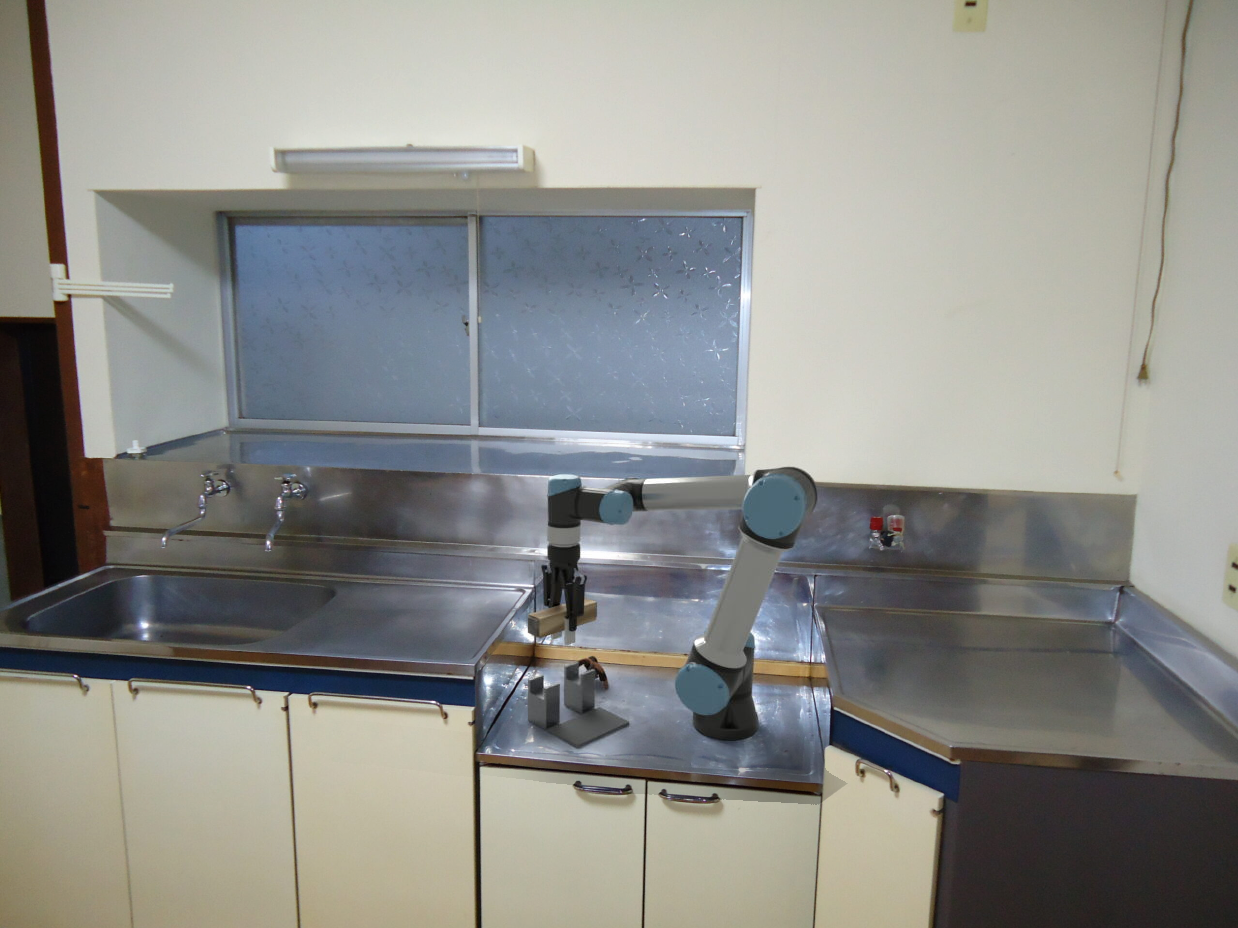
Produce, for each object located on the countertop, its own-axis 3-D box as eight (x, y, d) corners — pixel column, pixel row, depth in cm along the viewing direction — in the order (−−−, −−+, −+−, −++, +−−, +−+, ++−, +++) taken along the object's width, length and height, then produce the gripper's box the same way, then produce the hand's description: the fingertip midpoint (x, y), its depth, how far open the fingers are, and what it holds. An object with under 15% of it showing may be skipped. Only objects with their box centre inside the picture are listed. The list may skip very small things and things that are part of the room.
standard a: (594, 709, 194) (595, 669, 193) (582, 714, 192) (582, 674, 190) (576, 699, 199) (576, 661, 197) (563, 704, 196) (564, 665, 194)
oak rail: (597, 619, 192) (598, 601, 192) (537, 638, 180) (537, 619, 179) (586, 614, 195) (586, 597, 195) (526, 633, 183) (526, 614, 182)
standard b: (559, 724, 187) (559, 683, 185) (546, 729, 184) (546, 688, 182) (541, 714, 191) (541, 674, 190) (527, 719, 188) (528, 679, 187)
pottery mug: (610, 697, 202) (595, 672, 199) (577, 709, 204) (561, 685, 201) (613, 666, 213) (598, 642, 210) (581, 677, 215) (566, 654, 212)
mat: (629, 723, 187) (629, 721, 187) (577, 747, 176) (577, 745, 176) (599, 708, 194) (599, 706, 194) (547, 731, 183) (548, 728, 183)
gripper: (601, 547, 181) (600, 646, 185) (552, 532, 193) (551, 626, 197) (576, 553, 176) (575, 655, 180) (527, 538, 188) (527, 634, 192)
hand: (563, 640), depth 188 cm, fingers closed on oak rail, 4 cm apart
